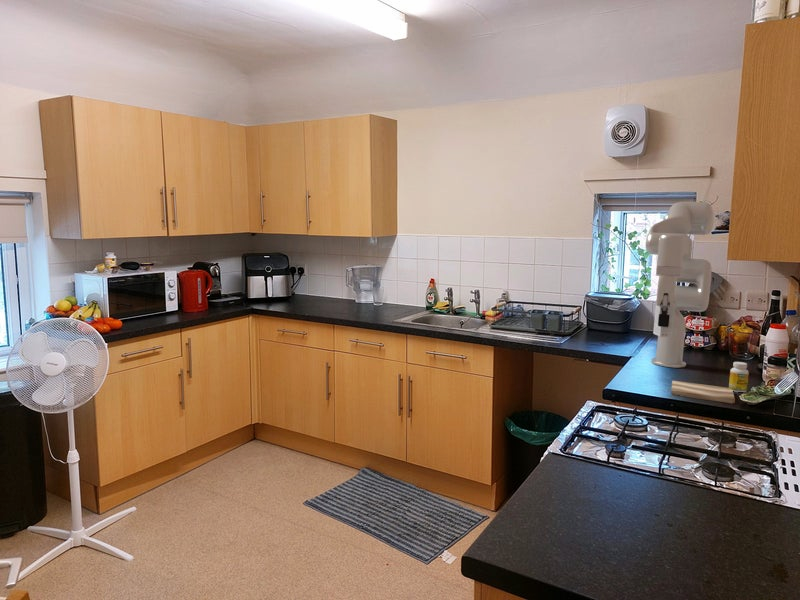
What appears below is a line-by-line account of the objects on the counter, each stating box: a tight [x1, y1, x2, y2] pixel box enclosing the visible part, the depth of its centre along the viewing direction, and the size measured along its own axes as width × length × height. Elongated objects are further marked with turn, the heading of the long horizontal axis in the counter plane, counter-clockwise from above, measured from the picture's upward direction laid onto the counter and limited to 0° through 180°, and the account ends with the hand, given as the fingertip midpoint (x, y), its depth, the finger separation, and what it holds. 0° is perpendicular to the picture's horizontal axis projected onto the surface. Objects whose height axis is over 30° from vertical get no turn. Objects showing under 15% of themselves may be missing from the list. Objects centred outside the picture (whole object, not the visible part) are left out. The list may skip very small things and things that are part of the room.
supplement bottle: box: [728, 361, 750, 393], centre depth 197 cm, size 5×5×10 cm
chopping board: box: [670, 380, 736, 404], centre depth 193 cm, size 14×18×2 cm
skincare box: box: [652, 301, 676, 337], centre depth 196 cm, size 6×4×12 cm
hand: (663, 324), depth 196 cm, fingers closed on skincare box, 7 cm apart
